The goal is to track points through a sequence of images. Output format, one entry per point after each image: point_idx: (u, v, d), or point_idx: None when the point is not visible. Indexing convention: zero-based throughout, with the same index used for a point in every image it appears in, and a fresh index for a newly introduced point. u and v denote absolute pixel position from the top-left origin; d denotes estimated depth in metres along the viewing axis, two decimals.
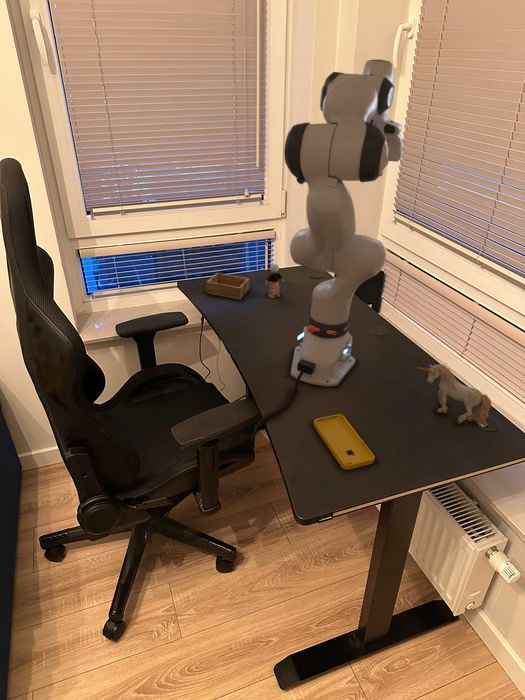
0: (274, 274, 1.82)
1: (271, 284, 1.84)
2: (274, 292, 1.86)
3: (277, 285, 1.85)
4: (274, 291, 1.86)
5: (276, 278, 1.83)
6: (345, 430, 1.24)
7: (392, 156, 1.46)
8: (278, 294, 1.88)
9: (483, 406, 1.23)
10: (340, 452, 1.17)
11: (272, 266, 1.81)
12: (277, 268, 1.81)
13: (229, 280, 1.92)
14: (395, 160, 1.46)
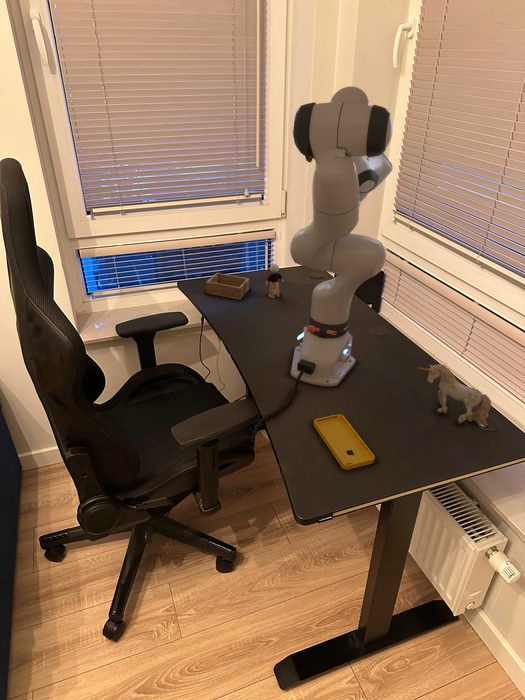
0: (274, 274, 1.82)
1: (271, 284, 1.84)
2: (274, 292, 1.86)
3: (277, 285, 1.85)
4: (274, 291, 1.86)
5: (276, 278, 1.83)
6: (345, 430, 1.24)
7: None
8: (278, 294, 1.88)
9: (483, 406, 1.23)
10: (340, 452, 1.17)
11: (272, 266, 1.81)
12: (277, 268, 1.81)
13: (229, 280, 1.92)
14: None
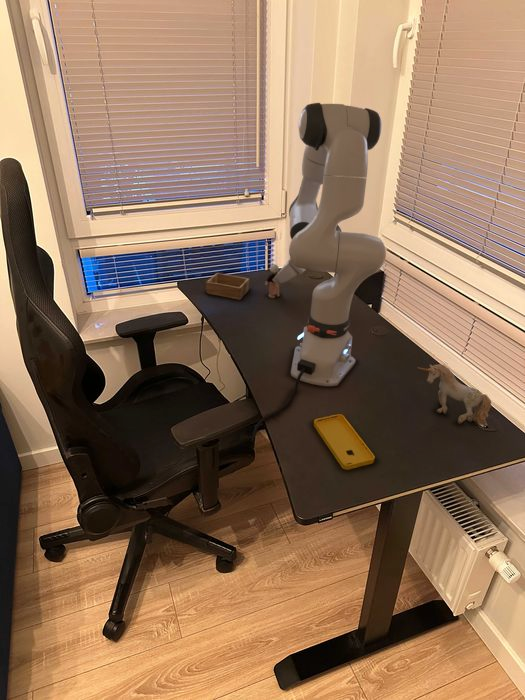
0: (274, 274, 1.82)
1: (271, 284, 1.84)
2: (274, 292, 1.86)
3: (277, 285, 1.85)
4: (274, 291, 1.86)
5: None
6: (345, 430, 1.24)
7: (278, 272, 1.74)
8: (278, 294, 1.88)
9: (483, 406, 1.23)
10: (340, 452, 1.17)
11: (272, 267, 1.80)
12: (277, 269, 1.80)
13: (229, 280, 1.92)
14: None
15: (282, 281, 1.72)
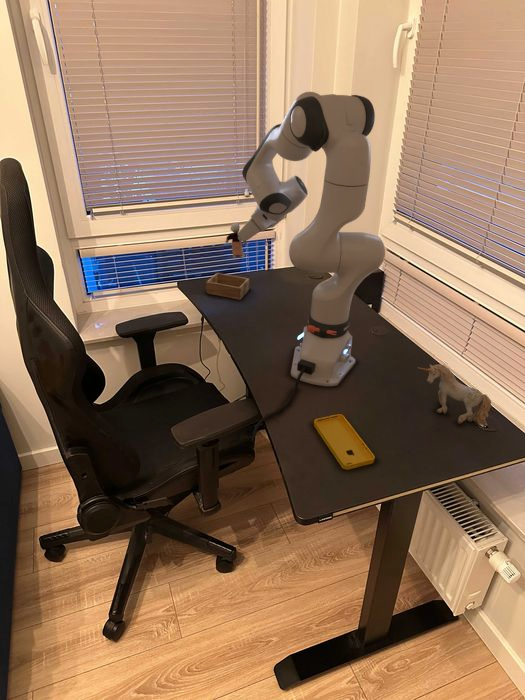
0: (234, 233, 1.77)
1: (232, 243, 1.80)
2: (235, 252, 1.81)
3: (238, 246, 1.79)
4: (235, 251, 1.81)
5: (236, 238, 1.77)
6: (345, 430, 1.24)
7: None
8: (241, 255, 1.82)
9: (483, 406, 1.23)
10: (340, 452, 1.17)
11: (232, 224, 1.76)
12: (235, 228, 1.75)
13: (229, 280, 1.92)
14: None
15: (245, 238, 1.67)
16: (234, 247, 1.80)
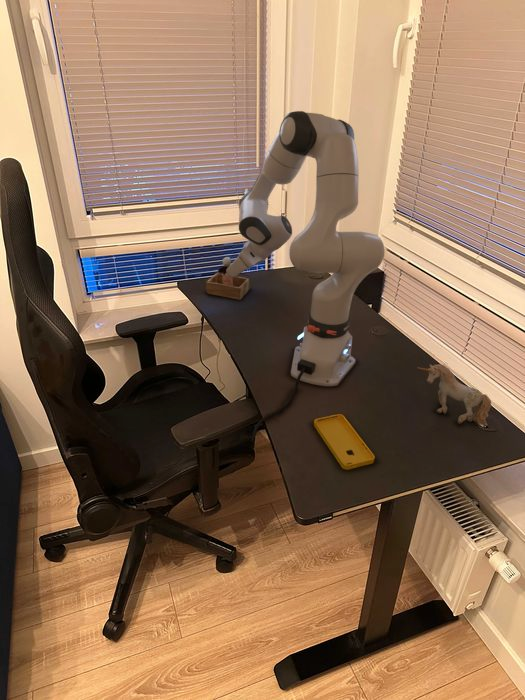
0: (225, 267, 1.85)
1: (223, 276, 1.87)
2: None
3: (229, 279, 1.87)
4: (226, 284, 1.88)
5: None
6: (345, 430, 1.24)
7: None
8: None
9: (483, 406, 1.23)
10: (340, 452, 1.17)
11: (224, 258, 1.84)
12: (226, 261, 1.83)
13: None
14: None
15: (233, 275, 1.74)
16: (224, 280, 1.88)
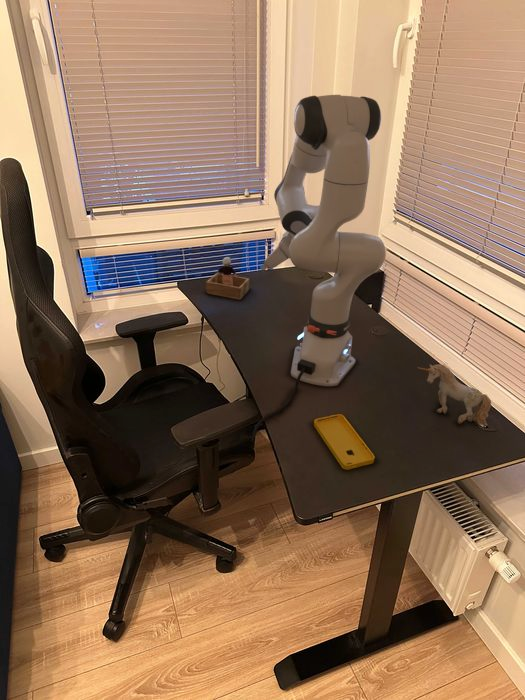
0: (225, 267, 1.85)
1: (223, 276, 1.87)
2: None
3: (229, 279, 1.87)
4: (226, 284, 1.88)
5: (227, 271, 1.85)
6: (345, 430, 1.24)
7: None
8: None
9: (483, 406, 1.23)
10: (340, 452, 1.17)
11: (224, 258, 1.84)
12: (226, 261, 1.83)
13: None
14: (265, 260, 1.68)
15: (272, 266, 1.67)
16: (224, 280, 1.88)
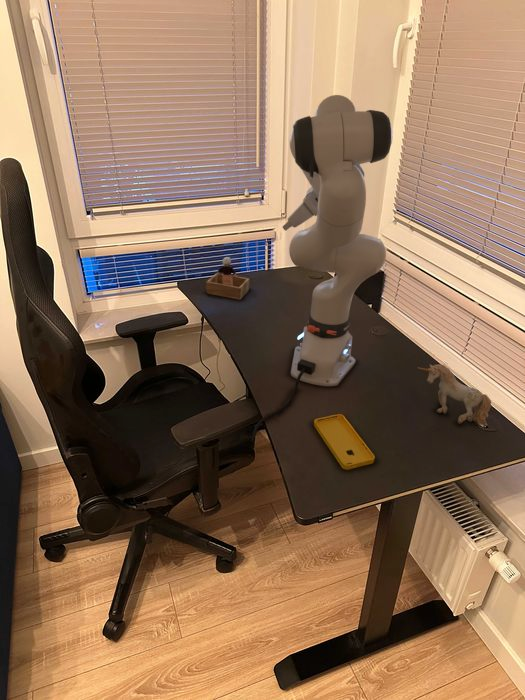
0: (225, 267, 1.85)
1: (223, 276, 1.87)
2: None
3: (229, 279, 1.87)
4: (226, 284, 1.88)
5: (227, 271, 1.85)
6: (345, 430, 1.24)
7: None
8: None
9: (483, 406, 1.23)
10: (340, 452, 1.17)
11: (224, 258, 1.84)
12: (226, 261, 1.83)
13: None
14: (288, 218, 1.57)
15: (296, 224, 1.56)
16: (224, 280, 1.88)
